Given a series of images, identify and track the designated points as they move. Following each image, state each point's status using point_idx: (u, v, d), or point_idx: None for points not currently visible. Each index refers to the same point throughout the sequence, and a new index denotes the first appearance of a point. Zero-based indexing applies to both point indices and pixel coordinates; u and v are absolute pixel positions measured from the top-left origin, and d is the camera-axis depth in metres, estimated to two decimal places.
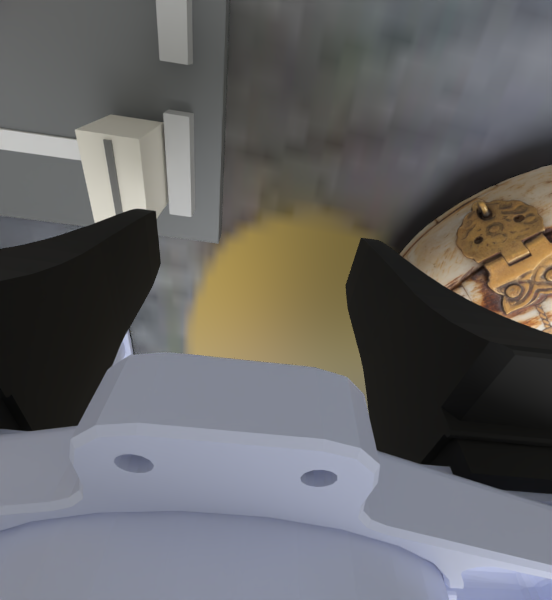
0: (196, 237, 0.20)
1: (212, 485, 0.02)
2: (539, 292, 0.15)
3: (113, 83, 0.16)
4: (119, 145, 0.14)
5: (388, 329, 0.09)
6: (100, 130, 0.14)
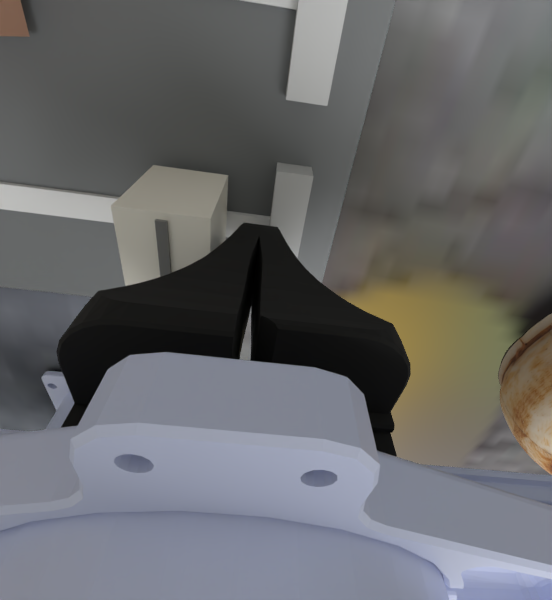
0: None
1: (212, 485, 0.02)
2: None
3: (203, 127, 0.11)
4: (178, 227, 0.09)
5: (256, 314, 0.08)
6: (148, 203, 0.09)
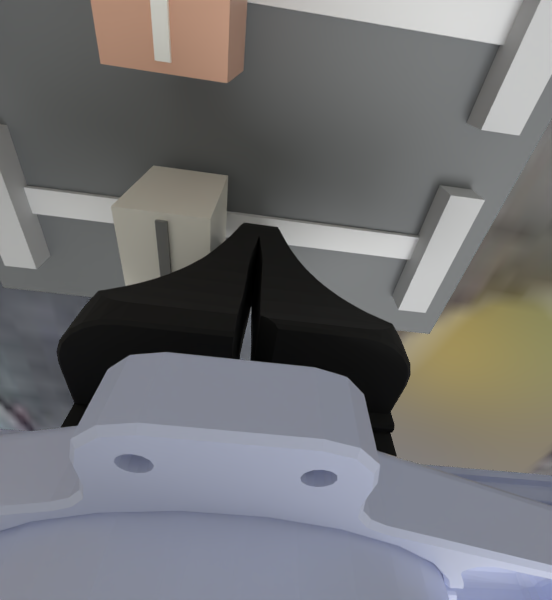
0: (404, 327, 0.16)
1: (212, 485, 0.02)
2: None
3: (377, 153, 0.11)
4: (178, 227, 0.09)
5: (256, 314, 0.08)
6: (148, 203, 0.09)
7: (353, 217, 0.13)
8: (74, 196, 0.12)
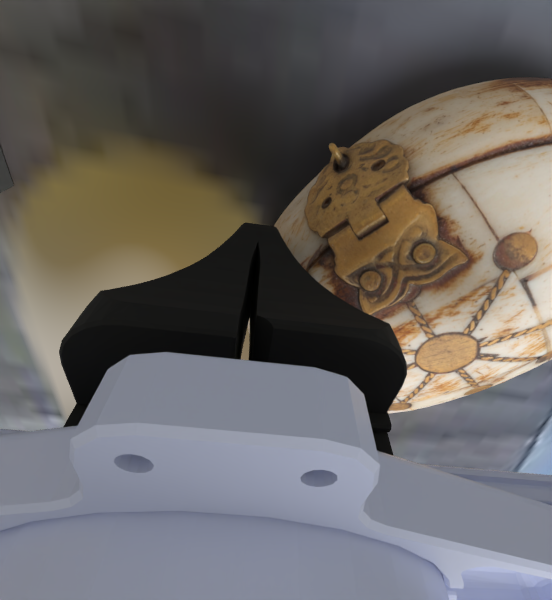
0: None
1: (212, 485, 0.02)
2: (407, 282, 0.10)
3: None
4: None
5: (254, 314, 0.08)
6: None
7: None
8: None
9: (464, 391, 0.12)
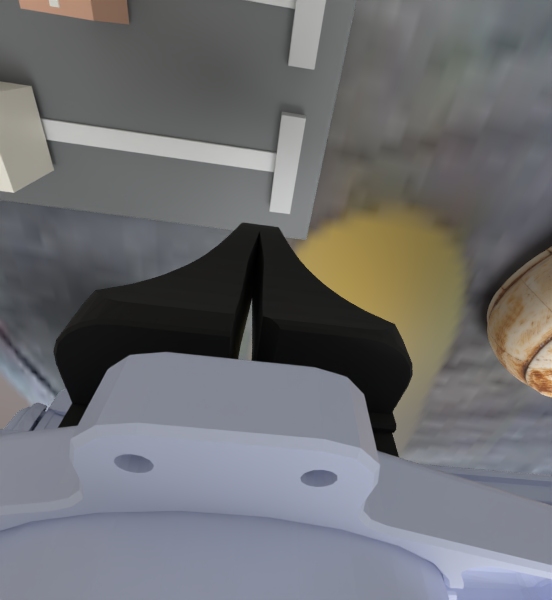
0: (286, 234, 0.21)
1: (212, 485, 0.02)
2: None
3: (233, 86, 0.16)
4: None
5: None
6: None
7: (227, 137, 0.18)
8: None
9: None
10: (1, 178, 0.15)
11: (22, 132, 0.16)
